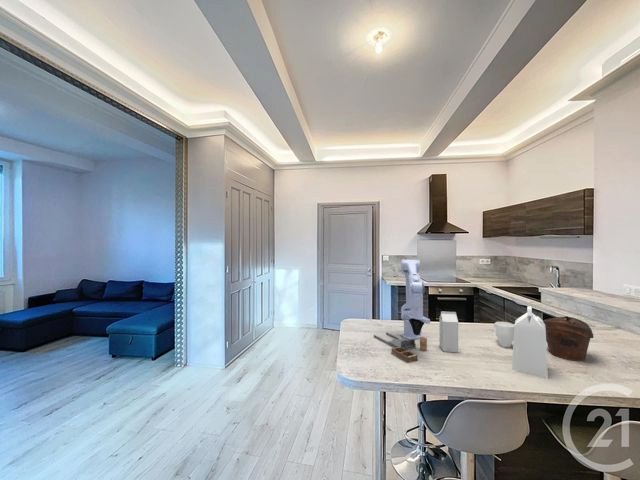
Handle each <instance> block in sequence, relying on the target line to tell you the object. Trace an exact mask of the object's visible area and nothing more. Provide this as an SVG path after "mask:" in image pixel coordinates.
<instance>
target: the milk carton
mask: <svg viewBox="0 0 640 480" xmlns="http://www.w3.org/2000/svg"><path fill="white" fill-rule="evenodd" d="M438 320H439V321H438V322H439V331H438V333H439V347H440V349H441V351H442V352H447V353H456V354H457V353H459V320H458V316H457V312H456V311H440V316H439V319H438Z"/></svg>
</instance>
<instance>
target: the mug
mask: <svg viewBox="0 0 640 480" xmlns="http://www.w3.org/2000/svg"><path fill="white" fill-rule="evenodd" d="M514 324H515V323H514ZM514 324H513V323H511V322H507V321H496V322H494V323H493V327H492V328H493V331H494V333H495V336H496V338H497V341H498V343H499V345H500V346H501V347H503V348H511V346H512V345H513V341H514Z"/></svg>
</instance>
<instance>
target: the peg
mask: <svg viewBox="0 0 640 480" xmlns="http://www.w3.org/2000/svg"><path fill="white" fill-rule="evenodd" d="M419 350H420V351H421V352H427V351H428V338H427V337H424V336H423V337H420V338H419Z"/></svg>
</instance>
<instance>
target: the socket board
mask: <svg viewBox="0 0 640 480" xmlns="http://www.w3.org/2000/svg"><path fill="white" fill-rule="evenodd" d="M390 350H391V352H390V353H391V354H392V355H393V356H394V357H396V358H399V359H400V360H402V361H404V362H405V363H407V364H411V363H414V362H416V361H419V360H418V359H419V358H418V355H417V354H416V353H414V352H412V351H410V350H406V349H404V348H402V347H396V348H393V347H392V348H391V349H390Z"/></svg>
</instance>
